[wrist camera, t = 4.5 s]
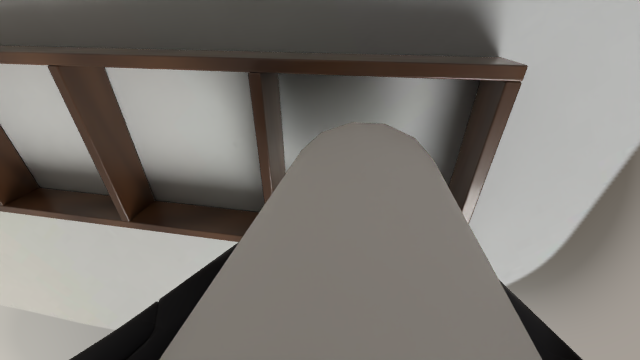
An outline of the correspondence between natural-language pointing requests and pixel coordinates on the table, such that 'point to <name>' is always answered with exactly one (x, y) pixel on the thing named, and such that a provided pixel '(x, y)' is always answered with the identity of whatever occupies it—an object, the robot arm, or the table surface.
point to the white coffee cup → (356, 266)
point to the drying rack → (228, 224)
